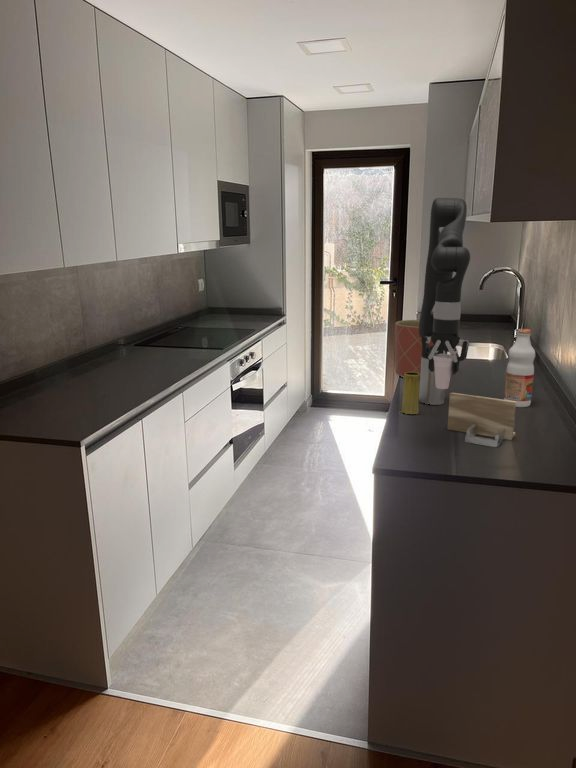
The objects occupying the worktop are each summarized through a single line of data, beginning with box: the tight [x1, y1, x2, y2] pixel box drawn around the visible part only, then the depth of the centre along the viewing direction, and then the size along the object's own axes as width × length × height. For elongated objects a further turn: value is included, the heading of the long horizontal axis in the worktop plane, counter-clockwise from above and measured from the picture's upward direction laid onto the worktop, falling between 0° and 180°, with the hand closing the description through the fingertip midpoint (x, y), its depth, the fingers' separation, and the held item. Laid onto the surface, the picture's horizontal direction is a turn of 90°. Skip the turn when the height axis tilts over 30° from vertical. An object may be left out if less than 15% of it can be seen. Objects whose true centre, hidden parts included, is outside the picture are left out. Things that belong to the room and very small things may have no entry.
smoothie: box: [433, 351, 454, 390], centre depth 176 cm, size 6×6×14 cm
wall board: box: [446, 392, 517, 441], centre depth 187 cm, size 5×20×12 cm, turn 58°
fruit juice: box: [503, 328, 536, 408], centre depth 217 cm, size 9×9×28 cm
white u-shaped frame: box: [464, 423, 505, 448], centre depth 181 cm, size 9×10×4 cm
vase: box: [400, 372, 420, 415], centre depth 208 cm, size 6×6×14 cm
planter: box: [394, 319, 434, 377], centre depth 262 cm, size 23×23×24 cm
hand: (443, 372), depth 177 cm, fingers closed on smoothie, 6 cm apart
